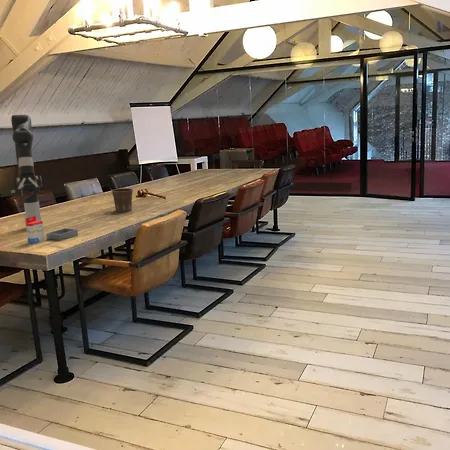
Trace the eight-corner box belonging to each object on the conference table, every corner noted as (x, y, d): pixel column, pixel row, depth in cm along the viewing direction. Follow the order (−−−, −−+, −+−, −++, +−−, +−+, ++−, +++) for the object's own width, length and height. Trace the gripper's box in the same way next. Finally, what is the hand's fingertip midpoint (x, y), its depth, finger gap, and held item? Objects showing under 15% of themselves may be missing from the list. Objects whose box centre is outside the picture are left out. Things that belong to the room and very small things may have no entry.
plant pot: (137, 211, 371) (135, 190, 367) (115, 213, 364) (114, 192, 361) (131, 207, 385) (129, 187, 382) (111, 210, 379) (109, 189, 375)
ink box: (34, 243, 280) (31, 218, 277) (27, 243, 282) (24, 218, 279) (45, 240, 288) (42, 215, 285) (38, 239, 290) (35, 215, 286)
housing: (46, 239, 290) (46, 233, 289) (65, 233, 302) (64, 228, 301) (59, 240, 285) (59, 234, 284) (78, 235, 297) (77, 229, 297)
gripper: (41, 166, 275) (44, 194, 274) (14, 168, 272) (18, 197, 272) (38, 163, 267) (41, 192, 266) (10, 166, 265) (14, 195, 264)
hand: (29, 195), depth 269 cm, fingers open, 8 cm apart
